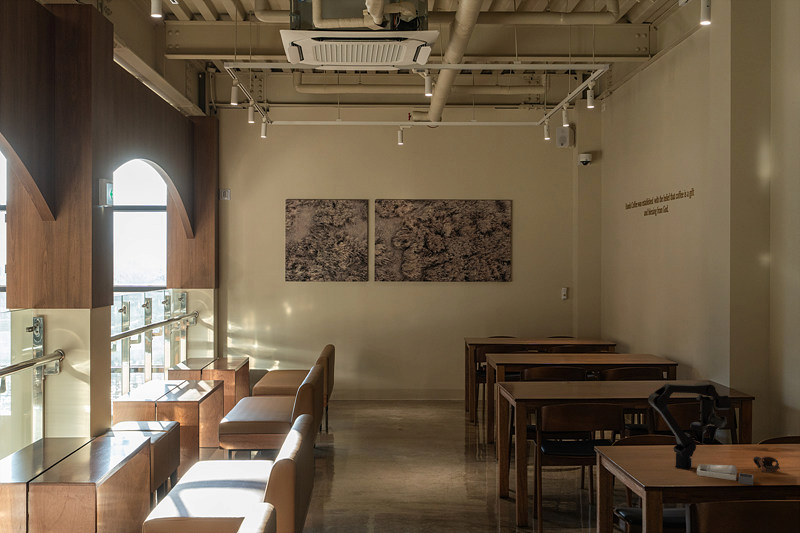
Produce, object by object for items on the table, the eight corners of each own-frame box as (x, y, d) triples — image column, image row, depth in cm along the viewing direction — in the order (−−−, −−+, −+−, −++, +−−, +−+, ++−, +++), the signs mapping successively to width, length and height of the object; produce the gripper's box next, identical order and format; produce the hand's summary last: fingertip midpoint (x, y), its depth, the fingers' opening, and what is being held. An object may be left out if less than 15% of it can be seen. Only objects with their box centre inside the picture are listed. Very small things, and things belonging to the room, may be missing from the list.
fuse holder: (738, 485, 296) (738, 476, 296) (738, 481, 302) (739, 472, 301) (753, 487, 294) (753, 478, 294) (753, 483, 299) (753, 474, 299)
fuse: (705, 467, 311) (730, 469, 301) (708, 462, 314) (734, 463, 304) (708, 474, 312) (734, 475, 302) (711, 469, 314) (737, 470, 304)
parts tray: (696, 477, 308) (696, 470, 308) (698, 470, 319) (698, 463, 319) (735, 482, 300) (736, 475, 300) (736, 475, 311) (736, 468, 311)
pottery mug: (782, 472, 316) (784, 460, 313) (773, 484, 312) (774, 472, 308) (756, 460, 325) (757, 448, 321) (746, 472, 321) (747, 459, 317)
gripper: (712, 415, 311) (712, 448, 311) (734, 410, 322) (733, 442, 322) (689, 410, 320) (689, 443, 320) (711, 406, 331) (711, 437, 331)
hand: (706, 442), depth 323 cm, fingers open, 9 cm apart
